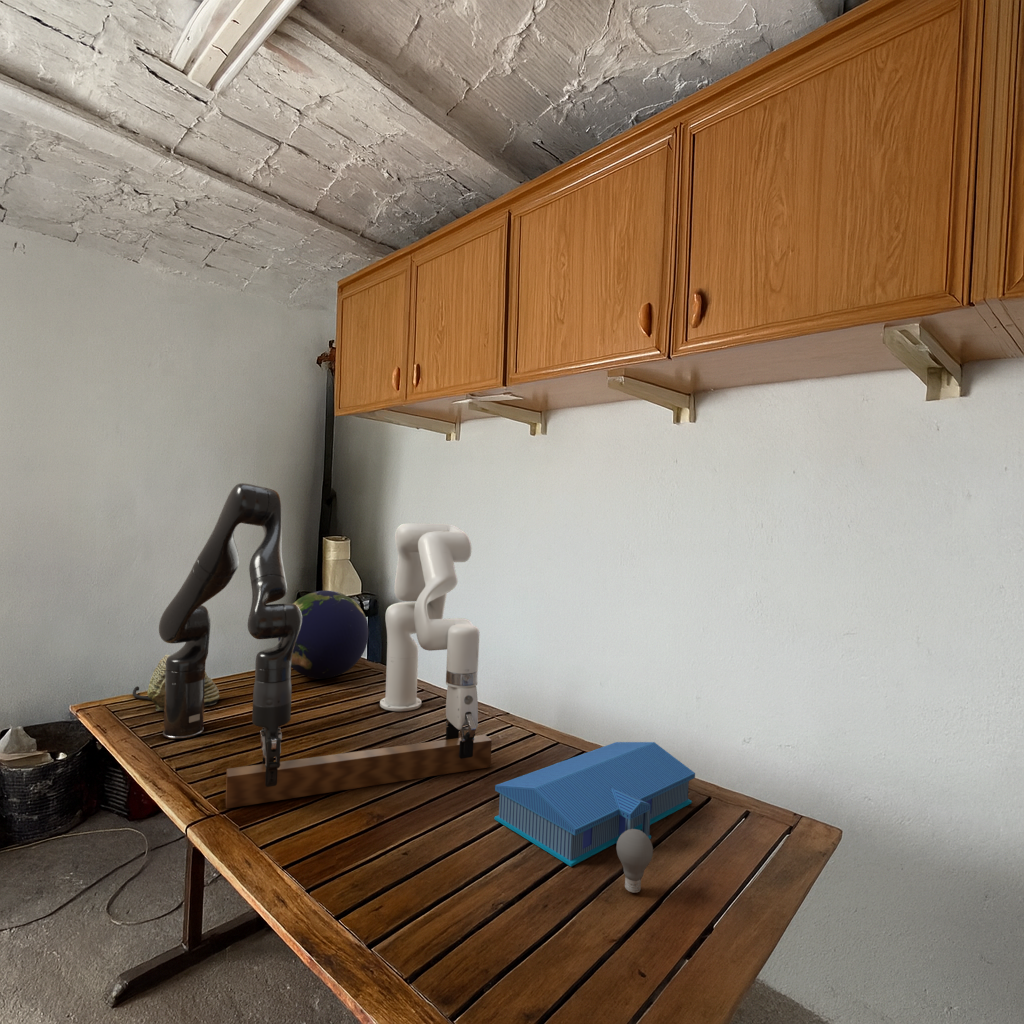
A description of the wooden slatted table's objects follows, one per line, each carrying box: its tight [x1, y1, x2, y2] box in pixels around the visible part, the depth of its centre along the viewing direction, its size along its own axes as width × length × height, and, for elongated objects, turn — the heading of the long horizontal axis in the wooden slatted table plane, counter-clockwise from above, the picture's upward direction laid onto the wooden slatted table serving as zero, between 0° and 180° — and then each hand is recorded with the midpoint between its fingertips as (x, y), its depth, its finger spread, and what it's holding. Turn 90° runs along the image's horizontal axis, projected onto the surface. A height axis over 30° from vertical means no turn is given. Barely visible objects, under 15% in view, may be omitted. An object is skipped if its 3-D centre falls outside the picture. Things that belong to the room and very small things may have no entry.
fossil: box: [147, 654, 221, 712], centre depth 185 cm, size 9×18×15 cm, turn 132°
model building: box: [493, 741, 696, 868], centre depth 132 cm, size 39×24×10 cm, turn 132°
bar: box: [225, 734, 493, 810], centre depth 141 cm, size 58×4×6 cm, turn 116°
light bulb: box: [615, 829, 654, 894], centre depth 106 cm, size 6×6×10 cm
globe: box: [277, 590, 369, 680], centre depth 219 cm, size 30×30×30 cm
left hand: (269, 777), depth 132 cm, fingers open, 7 cm apart
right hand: (458, 749), depth 150 cm, fingers open, 8 cm apart
